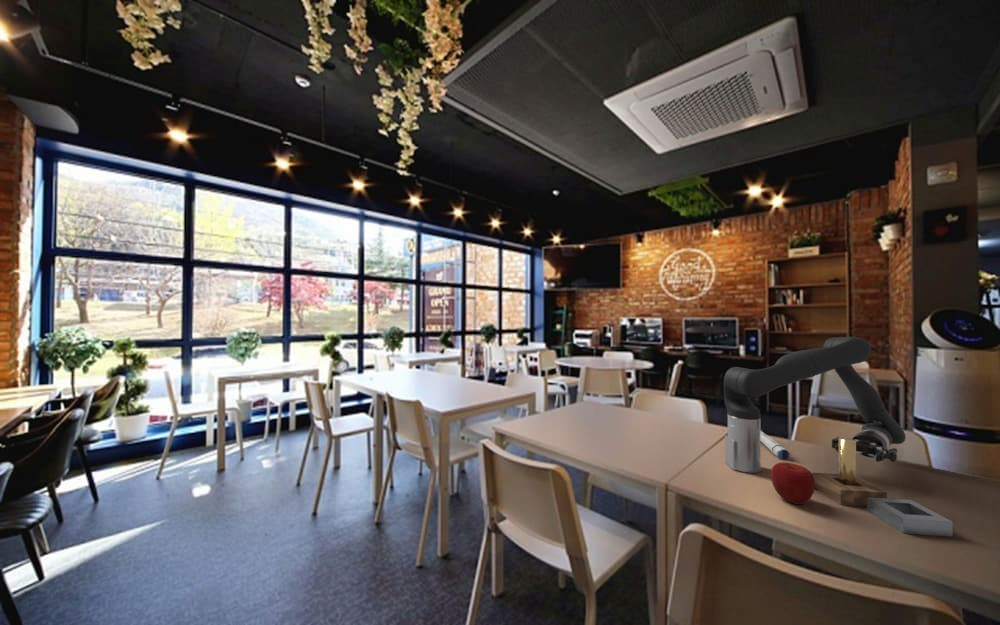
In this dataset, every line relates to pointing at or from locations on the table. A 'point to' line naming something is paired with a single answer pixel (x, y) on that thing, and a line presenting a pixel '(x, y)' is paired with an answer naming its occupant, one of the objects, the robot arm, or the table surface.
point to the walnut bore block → (846, 489)
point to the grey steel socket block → (909, 517)
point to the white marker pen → (774, 446)
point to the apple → (793, 482)
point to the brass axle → (847, 461)
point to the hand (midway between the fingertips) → (857, 453)
